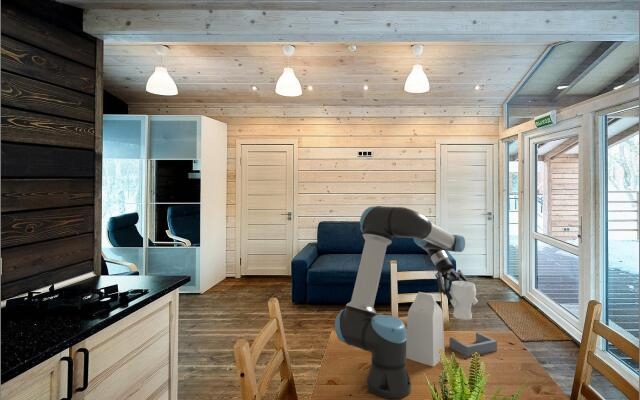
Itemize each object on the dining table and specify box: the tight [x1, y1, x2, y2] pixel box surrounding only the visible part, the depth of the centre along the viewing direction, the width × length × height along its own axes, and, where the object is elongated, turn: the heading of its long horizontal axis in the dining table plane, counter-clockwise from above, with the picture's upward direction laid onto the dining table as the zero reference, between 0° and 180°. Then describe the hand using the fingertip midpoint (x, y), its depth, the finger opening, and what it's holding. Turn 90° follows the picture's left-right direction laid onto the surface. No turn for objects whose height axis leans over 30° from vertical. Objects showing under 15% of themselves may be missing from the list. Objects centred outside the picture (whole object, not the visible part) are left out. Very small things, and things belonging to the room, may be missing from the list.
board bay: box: [448, 331, 498, 358], centre depth 155 cm, size 16×10×4 cm, turn 111°
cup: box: [449, 280, 477, 321], centre depth 161 cm, size 11×11×15 cm
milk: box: [406, 291, 445, 367], centre depth 147 cm, size 12×12×26 cm
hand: (466, 304), depth 159 cm, fingers closed on cup, 11 cm apart
